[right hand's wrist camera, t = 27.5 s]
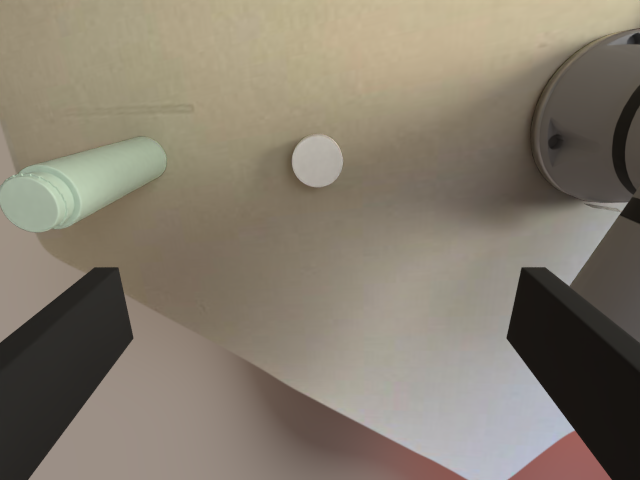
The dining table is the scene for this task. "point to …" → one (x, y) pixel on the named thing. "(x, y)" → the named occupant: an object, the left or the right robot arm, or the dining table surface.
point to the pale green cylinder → (79, 183)
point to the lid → (317, 160)
